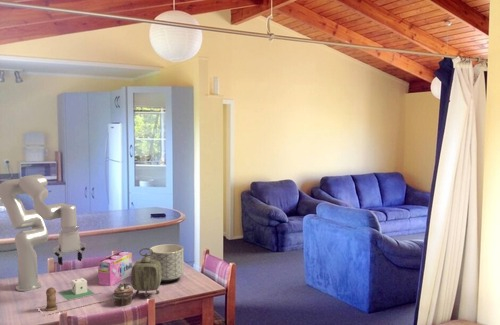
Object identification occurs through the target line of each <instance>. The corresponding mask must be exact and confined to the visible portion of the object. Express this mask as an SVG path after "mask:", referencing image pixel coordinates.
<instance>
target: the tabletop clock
mask: <svg viewBox="0 0 500 325" xmlns="http://www.w3.org/2000/svg"><path fill="white" fill-rule="evenodd" d="M143 250H144V251H145V250H149V251H150V250H151V249H150V248H147V247H145V248H141V249H140V250H139V255H140V256H142V258H141V259H139V260H137V261H135V262H134V264H132V272H131V275H130V280H131V281H130V282H131V288H132V289H133V291H135V294H136V295H138V294H139V293H140V292H145V294H144V297H145V298H147V297H148V296H149V295H148V292H152V291H155V292H156V294H160V290H158V289H159V287H160V285H161V282H162V281H161V278H162V269H161V264H160V261H157V260H151V258H150V256H151V255H152V254H153V251H152V250H151V251H152V254H150V253H149V254H148V253H145V254H143V253H141V252H142V251H143Z"/></svg>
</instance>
